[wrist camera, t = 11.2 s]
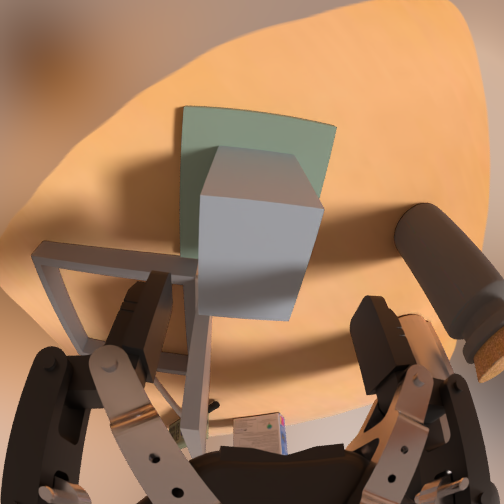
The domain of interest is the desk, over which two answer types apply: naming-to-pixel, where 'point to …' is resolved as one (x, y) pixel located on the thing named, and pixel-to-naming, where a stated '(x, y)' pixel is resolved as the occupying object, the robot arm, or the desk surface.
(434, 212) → the bottle
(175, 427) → the handheld radio
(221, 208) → the block
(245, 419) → the ink cartridge box
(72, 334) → the case
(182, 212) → the mat
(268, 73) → the desk surface
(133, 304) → the robot arm
